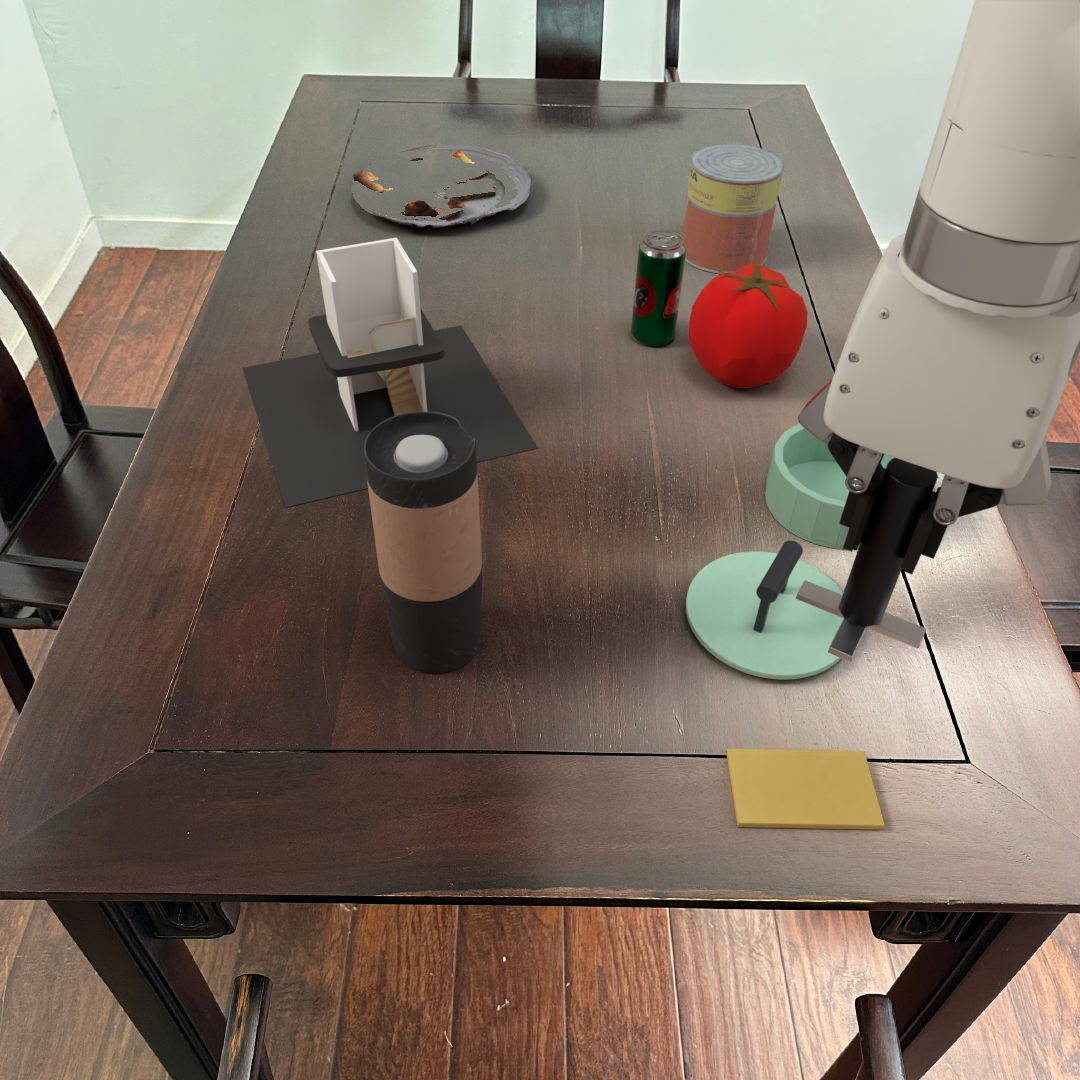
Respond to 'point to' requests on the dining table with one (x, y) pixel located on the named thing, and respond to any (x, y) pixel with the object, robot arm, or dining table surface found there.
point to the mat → (803, 789)
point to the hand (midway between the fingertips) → (885, 544)
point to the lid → (763, 614)
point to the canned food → (730, 206)
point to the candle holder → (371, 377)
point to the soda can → (658, 287)
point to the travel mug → (427, 537)
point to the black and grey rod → (878, 563)
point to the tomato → (747, 326)
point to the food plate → (474, 203)
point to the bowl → (808, 488)
